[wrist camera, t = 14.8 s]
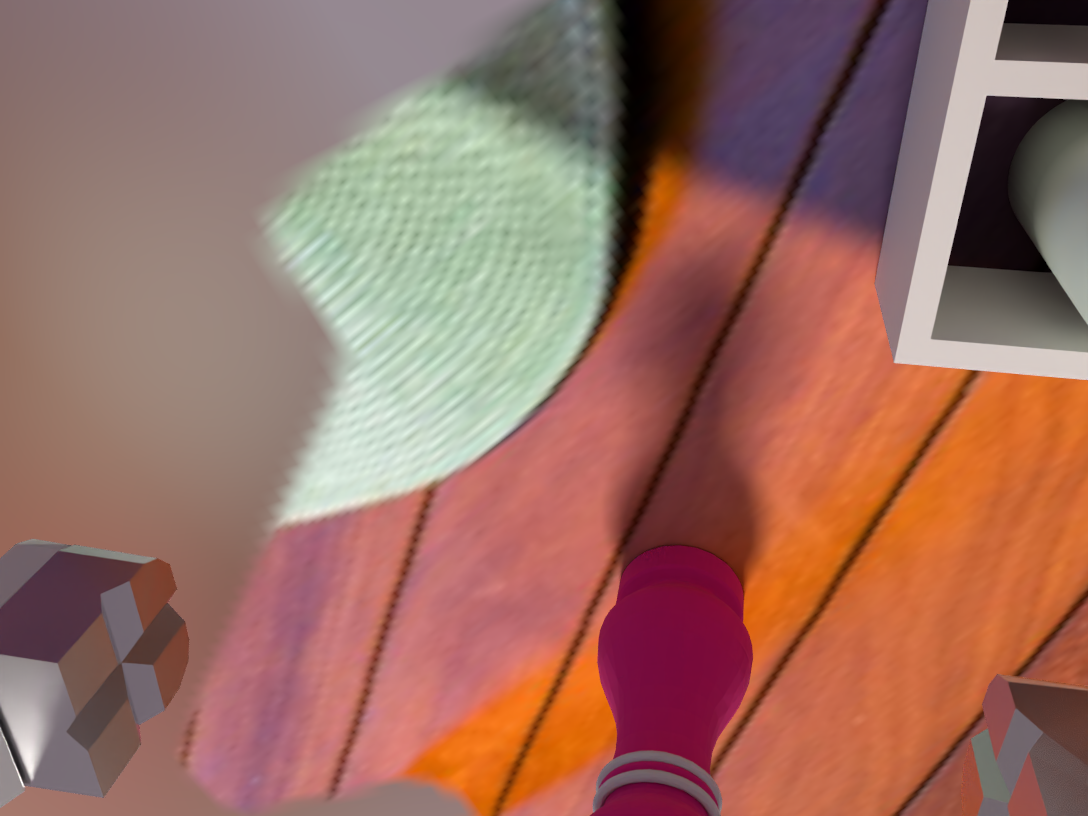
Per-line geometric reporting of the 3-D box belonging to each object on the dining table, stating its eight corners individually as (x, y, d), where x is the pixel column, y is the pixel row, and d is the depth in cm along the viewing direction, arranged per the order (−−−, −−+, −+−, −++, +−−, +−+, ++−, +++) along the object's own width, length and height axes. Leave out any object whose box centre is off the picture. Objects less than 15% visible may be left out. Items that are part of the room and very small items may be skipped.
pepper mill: (606, 532, 48) (519, 907, 31) (754, 538, 47) (748, 937, 30) (615, 641, 52) (542, 1031, 35) (753, 650, 50) (747, 1063, 33)
